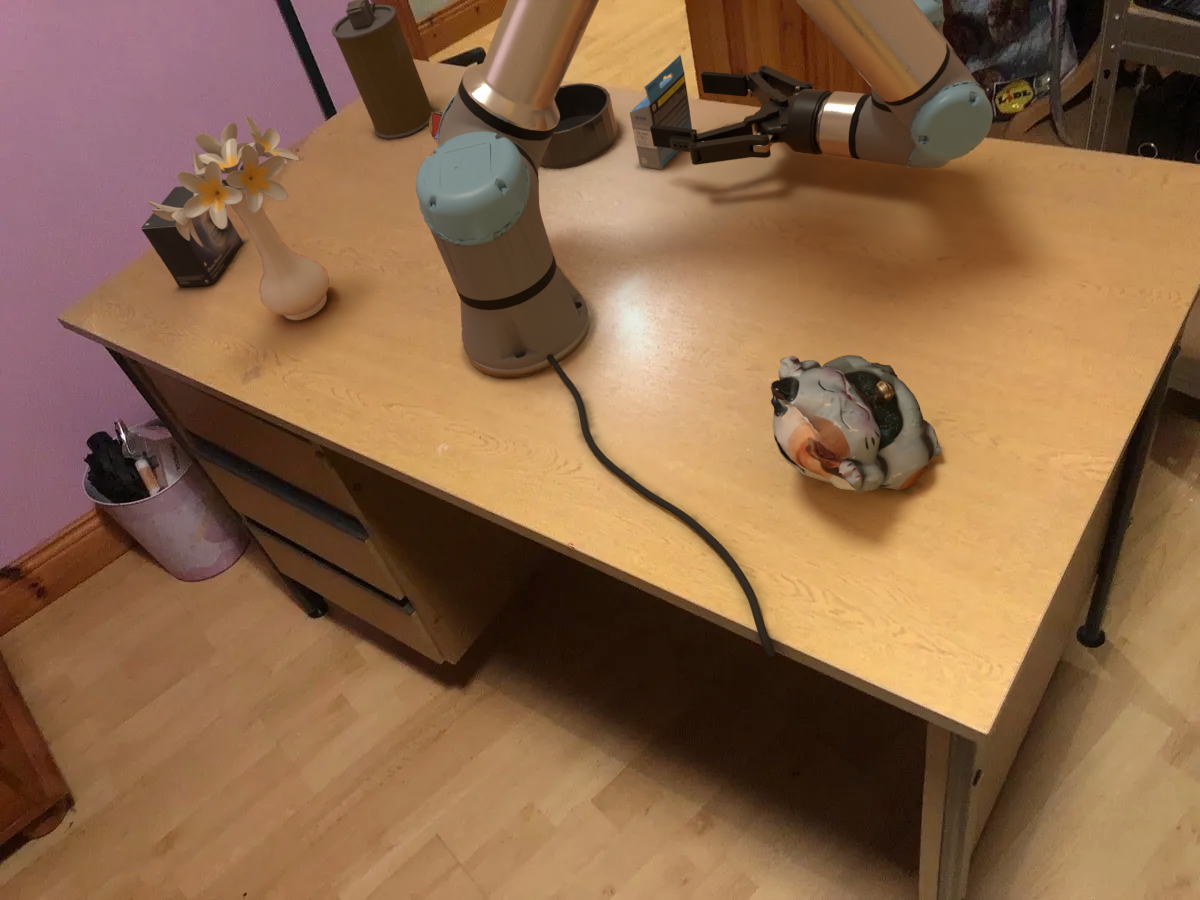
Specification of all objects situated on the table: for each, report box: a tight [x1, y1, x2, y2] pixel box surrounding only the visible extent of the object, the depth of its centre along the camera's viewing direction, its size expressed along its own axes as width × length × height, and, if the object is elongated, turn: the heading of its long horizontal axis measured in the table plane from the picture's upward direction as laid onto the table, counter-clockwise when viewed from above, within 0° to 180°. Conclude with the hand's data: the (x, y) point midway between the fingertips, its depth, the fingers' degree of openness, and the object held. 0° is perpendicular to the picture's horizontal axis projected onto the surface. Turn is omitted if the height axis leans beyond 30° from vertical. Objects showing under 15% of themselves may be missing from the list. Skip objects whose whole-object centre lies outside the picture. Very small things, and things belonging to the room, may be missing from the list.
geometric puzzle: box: [428, 110, 443, 144], centre depth 146 cm, size 7×7×8 cm
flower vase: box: [146, 115, 330, 321], centre depth 118 cm, size 13×18×25 cm
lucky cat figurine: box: [770, 354, 943, 493], centre depth 84 cm, size 15×12×14 cm
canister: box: [331, 0, 435, 140], centre depth 151 cm, size 11×10×20 cm
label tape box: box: [629, 54, 693, 170], centre depth 129 cm, size 9×4×12 cm, turn 144°
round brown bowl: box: [539, 82, 619, 169], centre depth 139 cm, size 14×14×6 cm
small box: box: [140, 185, 244, 288], centre depth 137 cm, size 11×6×10 cm, turn 168°
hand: (678, 108), depth 127 cm, fingers open, 13 cm apart
